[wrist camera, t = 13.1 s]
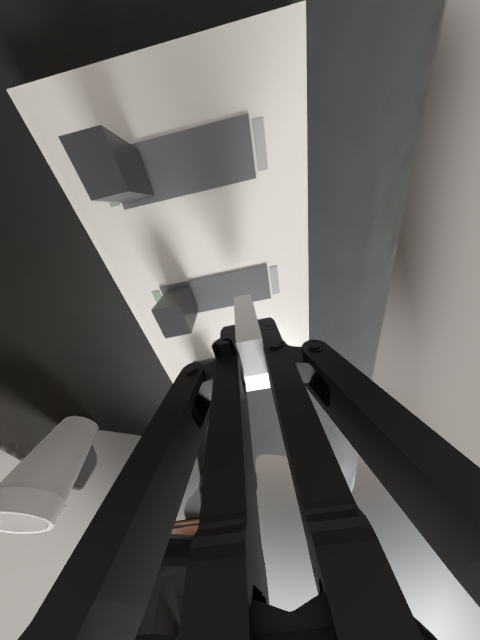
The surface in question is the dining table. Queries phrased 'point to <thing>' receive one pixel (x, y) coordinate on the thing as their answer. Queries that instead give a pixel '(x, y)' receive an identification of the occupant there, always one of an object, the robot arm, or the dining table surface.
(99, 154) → the handle
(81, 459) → the foam cup
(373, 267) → the dining table surface
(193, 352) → the breaker panel
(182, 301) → the handle
